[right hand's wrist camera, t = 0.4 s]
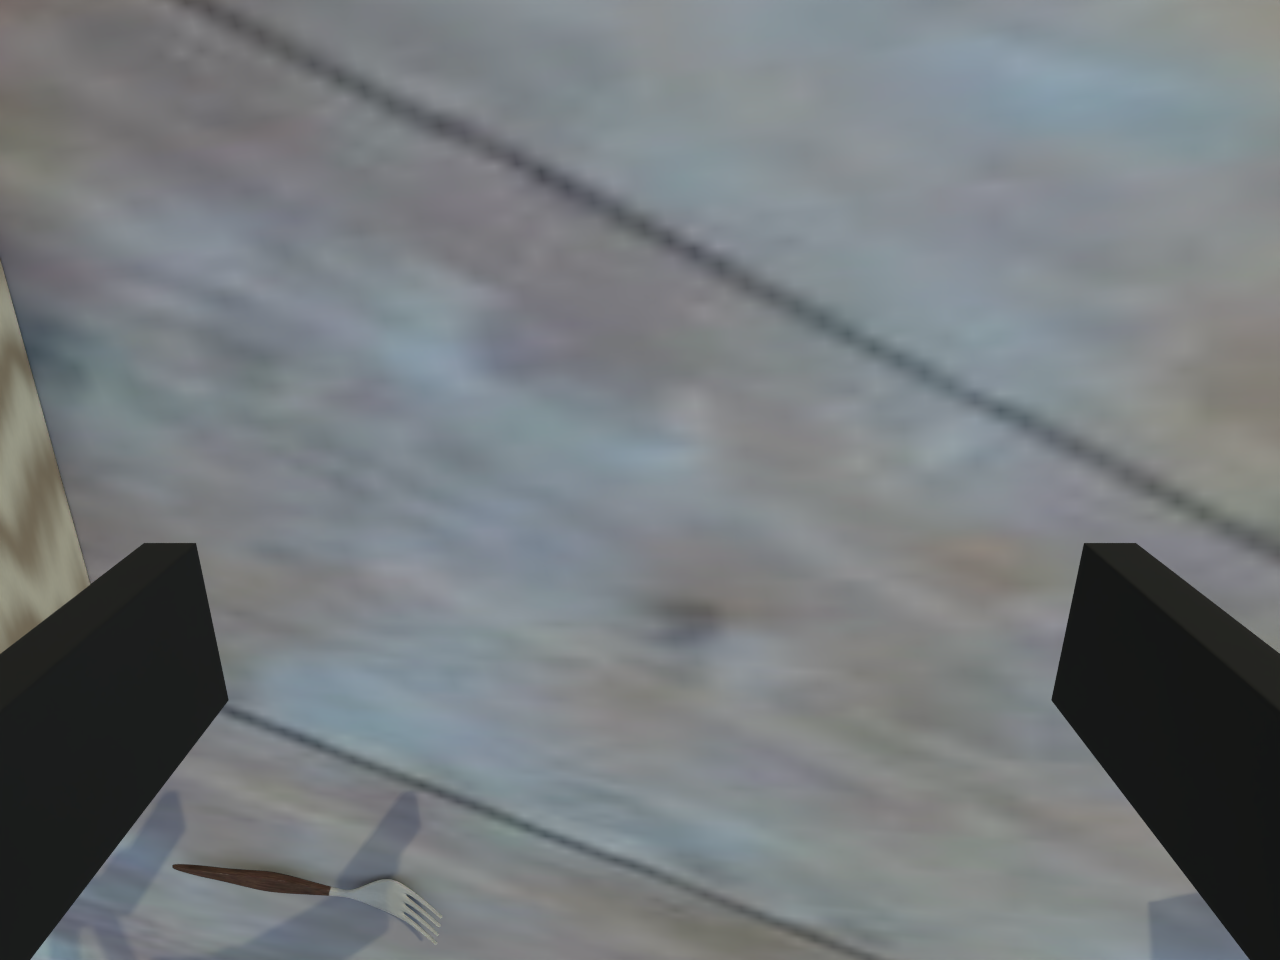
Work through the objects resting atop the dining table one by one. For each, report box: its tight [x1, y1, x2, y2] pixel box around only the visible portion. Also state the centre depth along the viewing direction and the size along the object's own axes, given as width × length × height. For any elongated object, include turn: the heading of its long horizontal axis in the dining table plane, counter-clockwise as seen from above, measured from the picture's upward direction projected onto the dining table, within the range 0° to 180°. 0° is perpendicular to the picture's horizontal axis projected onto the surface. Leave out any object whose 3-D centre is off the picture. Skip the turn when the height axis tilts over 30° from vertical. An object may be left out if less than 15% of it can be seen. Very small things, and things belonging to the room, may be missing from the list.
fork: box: [173, 864, 442, 945], centre depth 49 cm, size 3×16×2 cm, turn 78°
